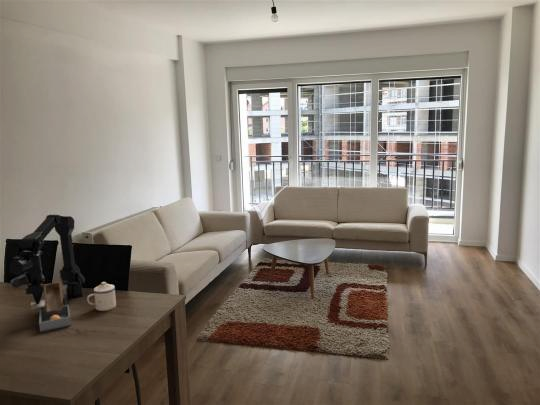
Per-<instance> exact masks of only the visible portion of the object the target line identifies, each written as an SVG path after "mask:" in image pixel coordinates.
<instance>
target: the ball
mask: <svg viewBox="0 0 540 405" xmlns="http://www.w3.org/2000/svg"><path fill="white" fill-rule="evenodd" d="M55 319H60V316H58V315H53V316H52V317H51V318H50V320H55Z"/></svg>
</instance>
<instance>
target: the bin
mask: <svg viewBox="0 0 540 405" xmlns="http://www.w3.org/2000/svg"><path fill="white" fill-rule="evenodd" d="M70 312H71V311H70V305H69V304H67V305H63V310H61V311H56V312H51V313H46V312H45V309H44V310H42V309H41V310H39V317H38V318H39V320H38V324H39V333H43V332H48V331H51V330H52V331H53V330H58V329H63V328H68V327H71V326H72V321H71V313H70ZM53 315H58V316H60V319H55V320H50V318H51V317H52V316H53Z"/></svg>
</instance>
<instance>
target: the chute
mask: <svg viewBox="0 0 540 405" xmlns="http://www.w3.org/2000/svg"><path fill="white" fill-rule="evenodd" d="M43 284H44V292H43V294H44V295H43V298H44V299H43V300H42V301H40V303H39V304H36V302H35V301H31V302H30V309H31V310H36V309H41V307H44V310H45V312H46V313H51V312H56V311H61V310H63V306H64V302H63V301H65V296H64V297H63V291H62V281H57V282H51V283H46V284H45V283H43Z"/></svg>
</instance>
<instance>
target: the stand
mask: <svg viewBox="0 0 540 405" xmlns="http://www.w3.org/2000/svg"><path fill="white" fill-rule="evenodd" d="M63 296H64V303H65V305H68V297H67V293H66V294H64V295H63ZM42 300H44V299H43V298H41V300H40V301H42ZM65 305H64V306H65ZM40 309H41V310H45V307H41V308H40Z"/></svg>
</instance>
